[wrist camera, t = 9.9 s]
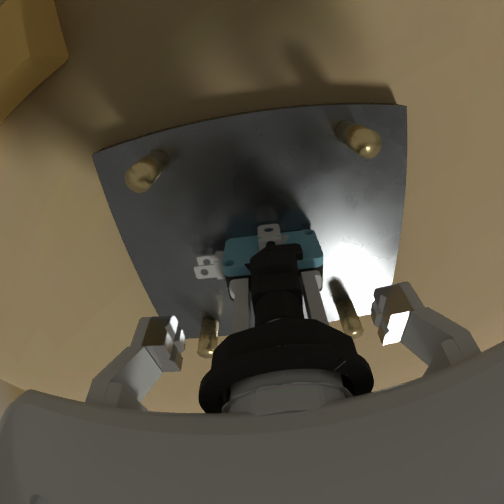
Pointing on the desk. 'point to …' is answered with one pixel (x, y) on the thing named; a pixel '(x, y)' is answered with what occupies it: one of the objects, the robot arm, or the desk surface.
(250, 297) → the push button
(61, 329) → the desk surface
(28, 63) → the rubber stamp
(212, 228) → the chassis
